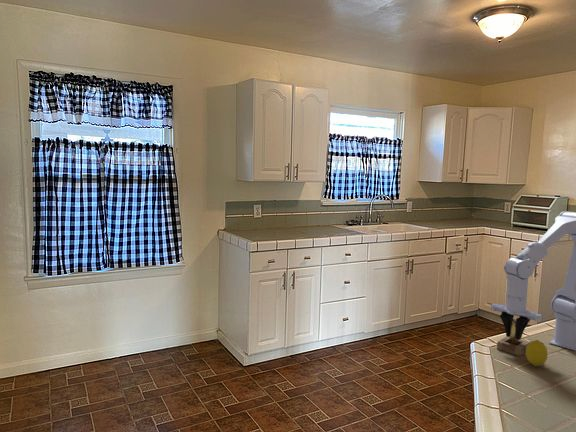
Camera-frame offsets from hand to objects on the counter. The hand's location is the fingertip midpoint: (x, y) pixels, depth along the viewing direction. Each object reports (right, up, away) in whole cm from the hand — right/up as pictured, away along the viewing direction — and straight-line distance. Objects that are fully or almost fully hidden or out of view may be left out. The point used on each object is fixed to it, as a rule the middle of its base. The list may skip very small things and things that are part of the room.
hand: (513, 337), depth 140 cm
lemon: (0, -5, -12) cm, 13 cm away
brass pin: (0, -2, 0) cm, 2 cm away
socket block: (0, -4, 0) cm, 4 cm away
